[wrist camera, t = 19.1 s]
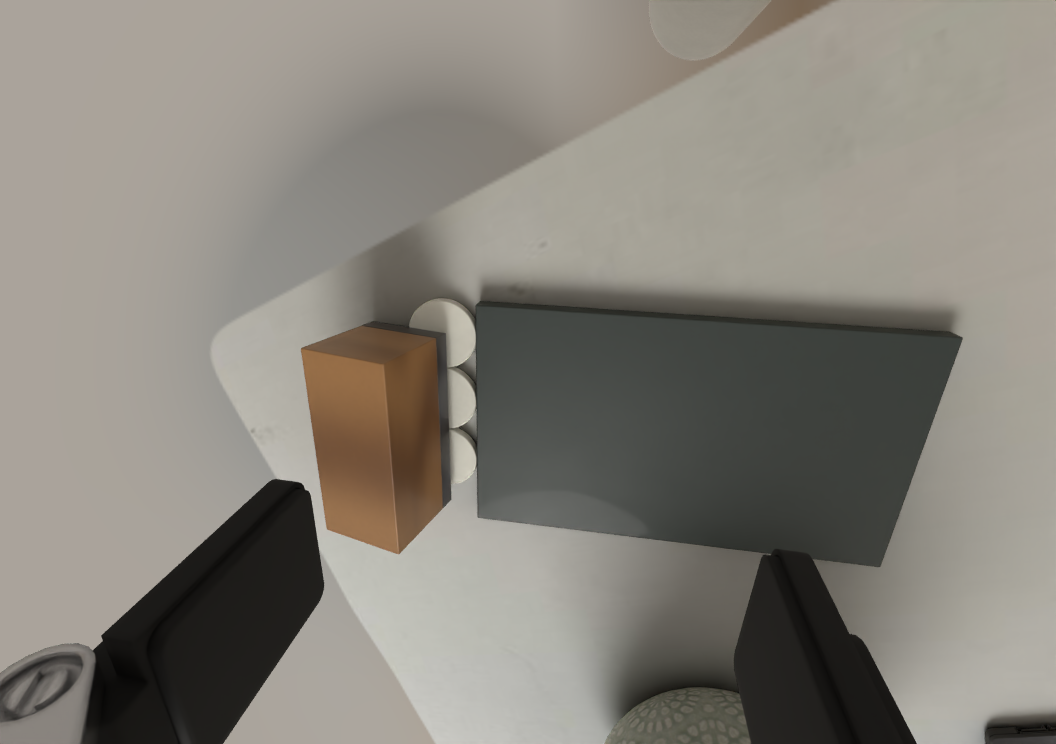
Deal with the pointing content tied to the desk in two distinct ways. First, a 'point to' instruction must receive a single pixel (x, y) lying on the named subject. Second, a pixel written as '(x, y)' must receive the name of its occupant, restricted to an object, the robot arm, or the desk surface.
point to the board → (704, 426)
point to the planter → (684, 719)
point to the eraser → (380, 430)
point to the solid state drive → (1020, 736)
